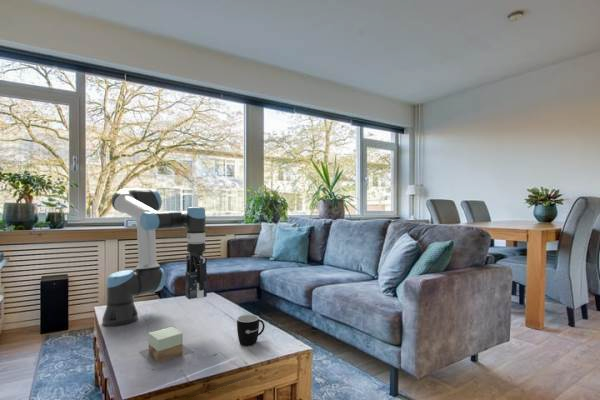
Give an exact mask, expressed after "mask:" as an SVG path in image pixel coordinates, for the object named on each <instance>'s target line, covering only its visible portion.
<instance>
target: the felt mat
mask: <svg viewBox="0 0 600 400" xmlns="http://www.w3.org/2000/svg"><path fill="white" fill-rule="evenodd" d="M192 353H194V351H193V350H192V349H190V348H188V347H187V346H185V345H184V344H183V354H182V355H179V356H176V357H173V358H170V359H167V360H165V361H162V362H159V363H158V362H157V361H156V360H155V359H153V358H152V357H151V356H150V355H149V348H147V349H142V350H140V351H138V354H140V355H141V356H142V358H144V359H146V361H148V362H149V363H150V364H151V365H152V366H156V365H159V364H163V363H166V362H168V361H171V360H174V359H175V360H176V359H177V358H180V357H183V356H186V355H189V354H192Z"/></svg>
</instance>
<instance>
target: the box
mask: <svg viewBox="0 0 600 400" xmlns="http://www.w3.org/2000/svg"><path fill="white" fill-rule="evenodd" d="M197 282H198V278H197V271H195V272H185V291H184V292H185V293H184V294H185V295H184V297H185V298H187V300H192V299H198V298H197ZM206 297H208V280H207V281H205V282H204V297H203V298H206Z"/></svg>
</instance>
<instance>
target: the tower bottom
mask: <svg viewBox="0 0 600 400" xmlns="http://www.w3.org/2000/svg"><path fill="white" fill-rule="evenodd" d="M183 345H184V344H180V345H177V346H174V347H171V348H167V349H164V350H161V351H157V350H156V349H155V348H153V347H152V346H151V345H150V344H149V343H148V349H149V355H150V356H151V357H152V358H153V359H155V360H156V361H157V362H158V363H159V362H162V361H165V360H167V359H170V358H173V357H176V356H179V355H182V354H183Z"/></svg>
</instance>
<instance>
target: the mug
mask: <svg viewBox="0 0 600 400" xmlns="http://www.w3.org/2000/svg"><path fill="white" fill-rule="evenodd" d="M260 323H261V324H262V329H261V330H260ZM265 325H266V324H265V322H264V321H263V320H261V319H260V316H258V315H256V314H243V315H239V316H238V317H237V318H236V331H237V337H238V342H239V345H241V346H243V347H250V346H251V347H252V346H254V345H256V343H257V341H258V337H259V336H260V335H262V334H263V332H264V330H265V328H266V327H265ZM259 330H260V332H259Z"/></svg>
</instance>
